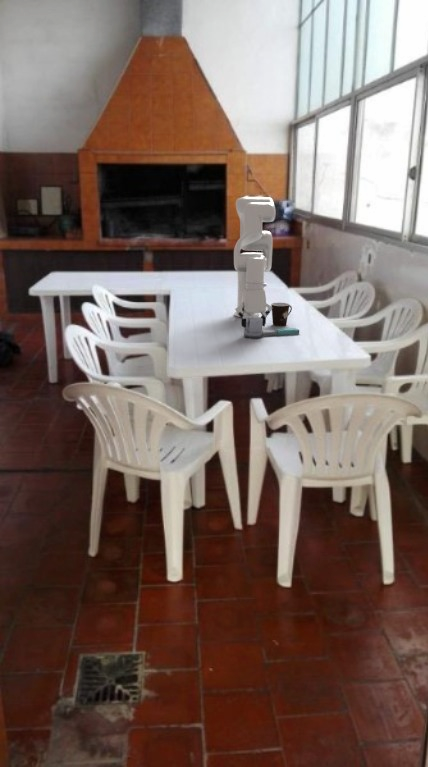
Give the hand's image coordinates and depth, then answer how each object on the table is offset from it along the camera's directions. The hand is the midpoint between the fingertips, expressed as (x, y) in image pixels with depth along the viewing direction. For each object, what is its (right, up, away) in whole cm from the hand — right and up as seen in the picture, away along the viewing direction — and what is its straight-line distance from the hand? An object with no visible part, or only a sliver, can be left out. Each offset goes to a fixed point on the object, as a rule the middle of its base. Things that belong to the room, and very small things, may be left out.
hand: (253, 326), depth 256 cm
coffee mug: (+16, +3, +24) cm, 29 cm away
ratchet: (+8, -4, +4) cm, 10 cm away
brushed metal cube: (0, -2, +1) cm, 2 cm away
